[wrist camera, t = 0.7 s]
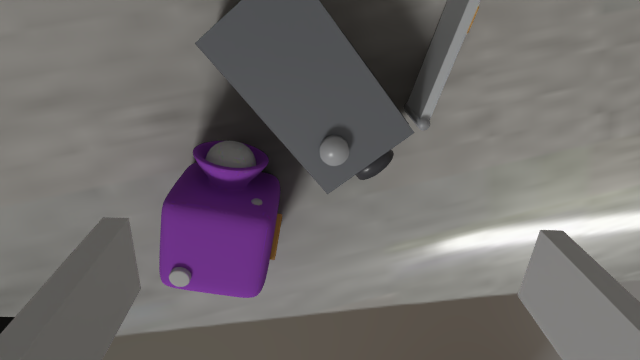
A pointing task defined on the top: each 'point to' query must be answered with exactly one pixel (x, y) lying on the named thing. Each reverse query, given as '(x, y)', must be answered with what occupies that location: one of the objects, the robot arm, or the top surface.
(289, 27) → the box
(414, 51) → the top surface
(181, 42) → the top surface
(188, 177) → the toy camera
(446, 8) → the side door
